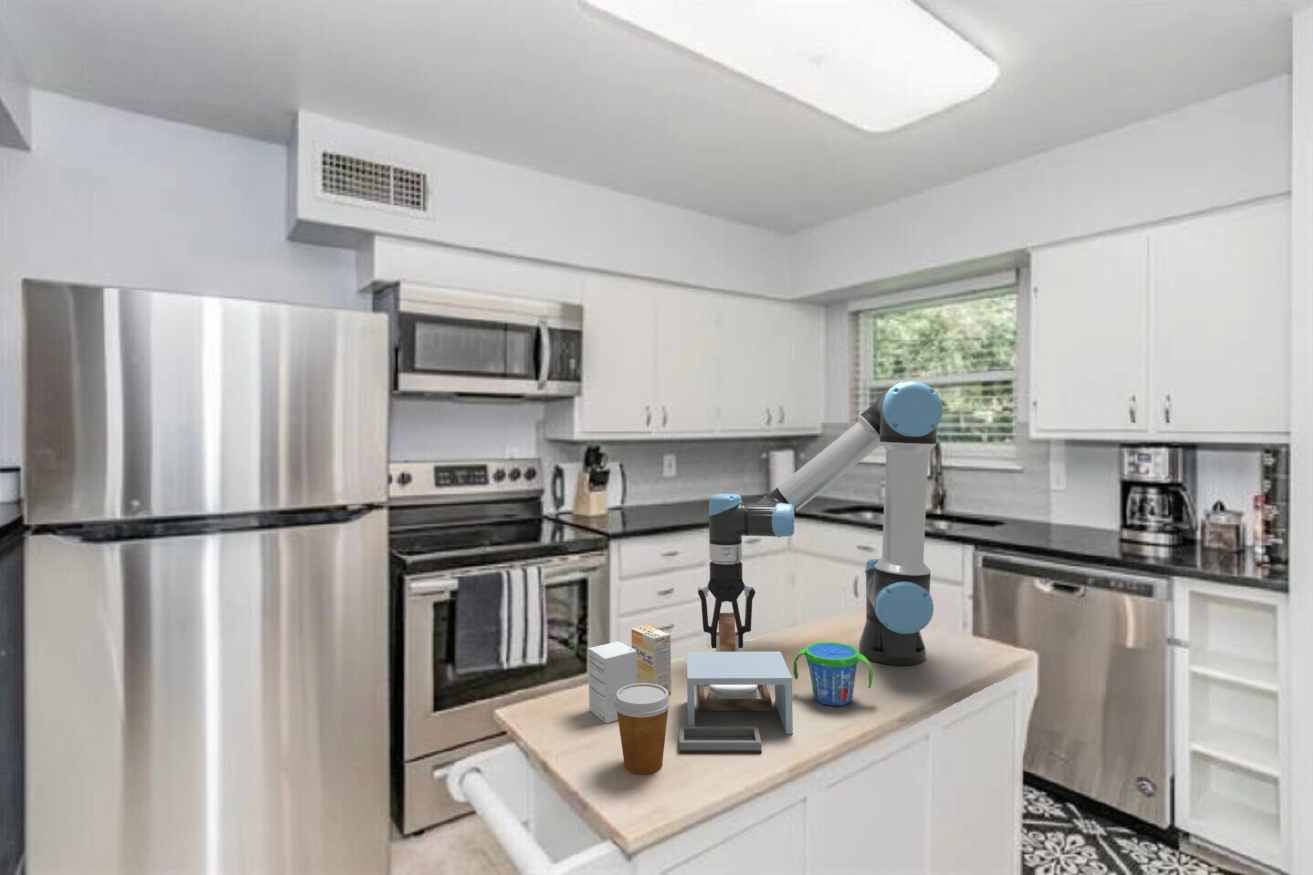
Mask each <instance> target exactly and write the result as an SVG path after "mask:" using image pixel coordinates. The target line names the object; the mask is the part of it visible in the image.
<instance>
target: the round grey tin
mask: <svg viewBox="0 0 1313 875" xmlns="http://www.w3.org/2000/svg"><path fill="white" fill-rule="evenodd" d="M758 686H759V685H708V699H759V695H758V693H759V689H758Z"/></svg>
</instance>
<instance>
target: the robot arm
mask: <svg viewBox="0 0 1313 875" xmlns="http://www.w3.org/2000/svg"><path fill="white" fill-rule="evenodd" d="M942 417H943V403H942V401H941V398H940V396H939V394H938V393H937V392H936V391H935V389H933V388H932V387H931V386H929V385H927V384H926V383H923V382H920V381H913V380H909V381H902V382H899V383H897V384H894V385H892V386H890V387H888V388H887V389H885V390H884V391H883V392H882V393H881V394H880V395H879V397H878V398H877V399H876V400H875V401H874V402H873V403H872V404H870V406H869V407H867V409H866V410H864V411H863V412H862V413H860V415H858V421H857V422H856V423H855V424H854V425H852V427H850V428H848V430H847V431H845V432H844V433H842V434H841V435H840V436H838V438H836V439H835V440H833V442H831V443H830V444H829V445H828V446H826V447H825V448H824V449H822V451H820V452H819V453H818V454H817V455H816V456H814V457H812V459H810V460H809V461H807V463H805V464H804V465H803V466H802V467H800V468H799V469H797V471H796V472H794V473H793V474H791V476H789V477H788V478H786V480H784V481H783V482H782V483H780V485H778V486H777V487H776V488H774V489H773V490H772V491H770V492H769V493H768V494H767V495H765V496H763V497H762V498H760V499H759V500H758V501H757V503H756V502H755V503H752V502H751V503H749V502H743V499H742V496H741V495H740V494H738V493H718V494H717V493H716V494H713V495H711V496H710V498H709V504H708V529H709V531H708V532H709V533H708V534H709V537H708V538H709V545H708V546H709V560H710V562H709V581H708V583H707V585H706V586H704V587H698V588H697V594H698V596H699V600H700V605H701V616H702V617H701V618H702V627H703V628H702V629H703V632H704V633H708V634H710V646H711V649H715V652H720V635H719V631H718V628H719V615H720V613H721V608H722V604H723V603H726V602H728V603H731V607H732V610H733V612H732V613H734V616H735V628H736V631H735V652H740V651H739V649H743V648H744V634H746V633H750V632H751V631H752V619H753V618H752V615H753V599H754V597H755V594H756V591H755V589H754V587H753V586H752V587H751V586H750V587H749V586H746V584H745V582H744V581H743V563H742V560H743V537H744V536H745V537H774V538H775V537H777V538H782V537H783V538H784V537H792V536H794V534H795V513H797V512H798V511H799V510H800V509H801V508H803V507H804V506H805V505H806V504H808V503H809V502H810V501H812V500H813V499H814V498H816V497H817V496H819V494H821V493H822V492H823V491H824V490H826V489H827V488H828V487H830V486H831V485H832V484H834V483H835V482H836V481H837V480H838V479H840V478H841V477H842V476H843V475H845V474H846V473H847V472H848V471H850V470H851V469H853V467H854V466H856V465H858V464H859V463H860V462H862V460H864V459H865V458H867V457H868V456H869V455H870V454H871V453H873V452H874V451H875V450H876V449H878V448H879V447H883V448H884V449H885V451H886V452H885V453H886V454H885V455H886V456H885V473H884V474H885V475H884V476H885V478H884V500H883V502H884V503H883V520H882V521H883V525H882V526H883V527H882V547H881V558H871V559H869V560H867V561H866V563H865V570H864V573H865V595H866V596H865V597H866V598H865V608H866V609H865V611H866V614H865V615H866V617H865V618H866V620H865V624H864V627H863V630H862V633H861V635H860V639H859V642H858V651H859V653H860V654H862V655H863V656H865V657H866V658H867V660H868V661H871V662H874V663H879V664H883V665H884V664H885V665H891V666H913V665H917V664H921V663H923V662H925V661H926V658H927V651H926V650H927V649H926V646H925V642H924V640H923V637H922V634H921V631H922V630H923V629H925V628H926V627H927V626H928V625H929V624H930V622H931V620H932V618H933V615H934V610H935V608H934V603H933V602H934V600H933V598H932V597H933V596H932V595H931V594H930V593H931V569H930V568H929V567H928V565H927V564H926V563H925V562H924V561H925V560H924V558H925V554H924V553H925V539H926V538H925V534H926V511H927V493H928V492H927V489H928V488H927V487H928V486H927V485H928V468H929V467H928V464H929V454H930V451H931V450H933V449H934V447H936V446H937V437H938V436H937V434H938V425H939V424H940V422H941V419H942ZM743 591H744V595H745V596H744V597H745V610H744V611H745V612H744V625H743V624H742V620H741V615H740V614H741V613H740V610H739V603H738V598H739V597H740V595H741V594H742V593H743ZM709 592H710V593H711V595H712V596H713V597H714V598H715V600H714V601H715V602H714V606H713V607H714V608H713V614H712V620H711V626H710V625H709V617H708V603H707V597H708V596H709Z"/></svg>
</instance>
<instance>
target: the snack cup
mask: <svg viewBox="0 0 1313 875" xmlns="http://www.w3.org/2000/svg"><path fill="white" fill-rule="evenodd" d="M802 655H803V656H805V659H806V662H807V666H808V667H809V668H808V669H809V676H810V680H811V687H812V693H813V696H814V699H816V701H817V702H819V703H820V704H822V705H827V706H839V707H842V706H845V705H847V704H849V703H850V702H853V697H854V688H855V682H856V674H857V664H858V662H861V663H863V664H865V665H866V667H867V670H868V689H869V690H870V689H871V688H872V685H873V679H874V672H873V668H872V667H873V666H872V665H871V663H870V660H869V659H867V658H866V657H865V656H863V655H862V654H860V653H859V649H857V647H854V646H852V645H850V644H846V643H842V642H835V641H834V642H833V641H826V642H825V641H823V642H816V643H811V644H809V645H808V646H807V647H805V648H803V649H801V650H800V651H799V652H798V653H797V654H796V656H795V658H794V660H793V666H792V668H793V669H792V673H793V678H794V679H795V680H798V678H799V671H798V664H797V662H798V660H799V658H800V657H801V656H802Z"/></svg>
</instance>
